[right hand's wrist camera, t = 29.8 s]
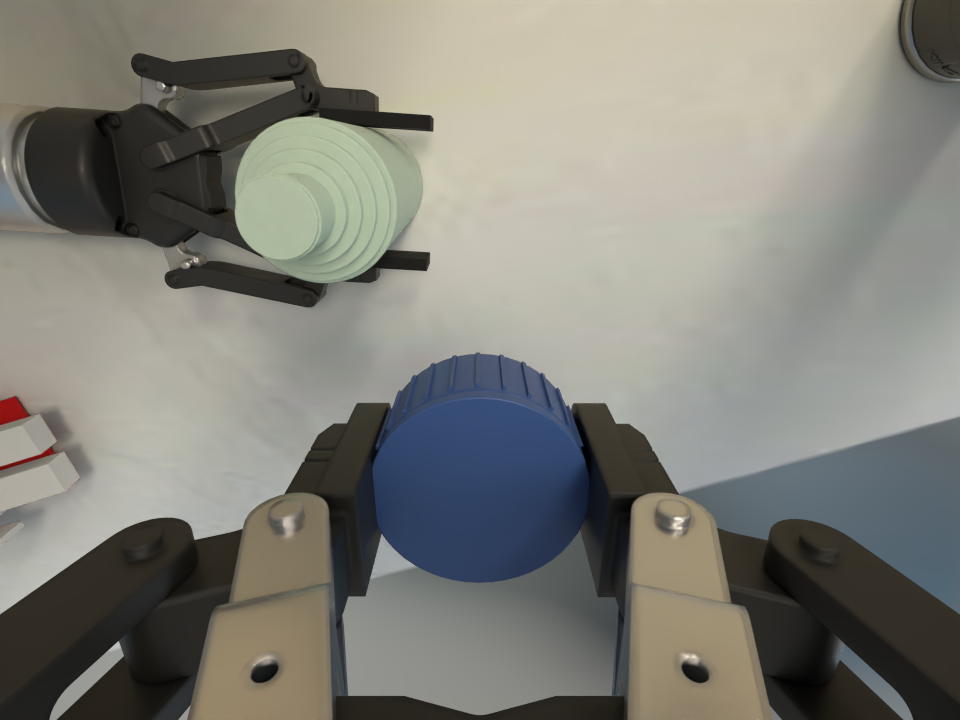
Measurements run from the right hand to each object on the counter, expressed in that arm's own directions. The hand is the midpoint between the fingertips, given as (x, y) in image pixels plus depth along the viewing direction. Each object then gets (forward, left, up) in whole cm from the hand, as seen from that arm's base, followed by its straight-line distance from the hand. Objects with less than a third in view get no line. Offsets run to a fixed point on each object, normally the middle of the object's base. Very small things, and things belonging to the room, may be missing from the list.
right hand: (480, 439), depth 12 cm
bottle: (-1, -9, -31) cm, 32 cm away
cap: (0, 0, +2) cm, 2 cm away
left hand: (-3, -4, -24) cm, 25 cm away
